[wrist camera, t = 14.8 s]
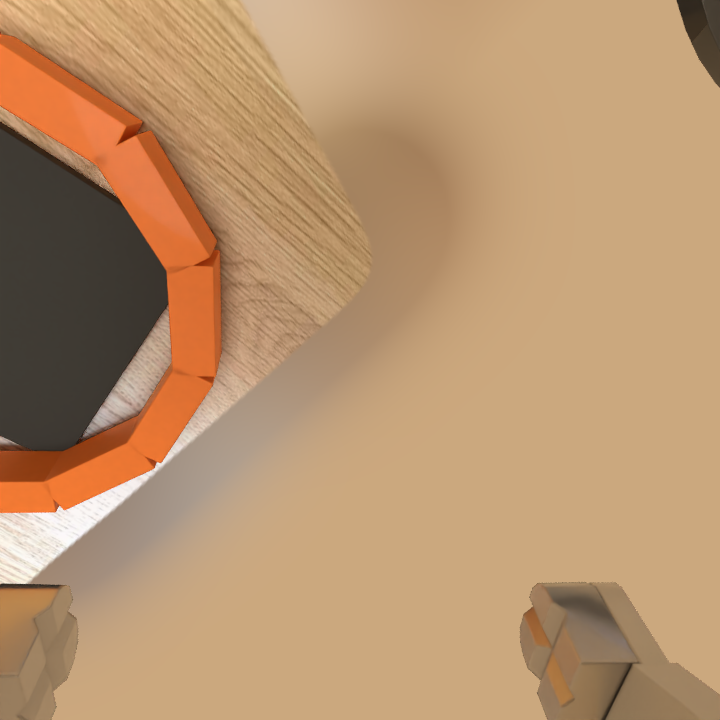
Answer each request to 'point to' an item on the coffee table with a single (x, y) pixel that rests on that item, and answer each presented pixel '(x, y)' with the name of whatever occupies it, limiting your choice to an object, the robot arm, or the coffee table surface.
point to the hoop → (172, 247)
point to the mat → (66, 296)
